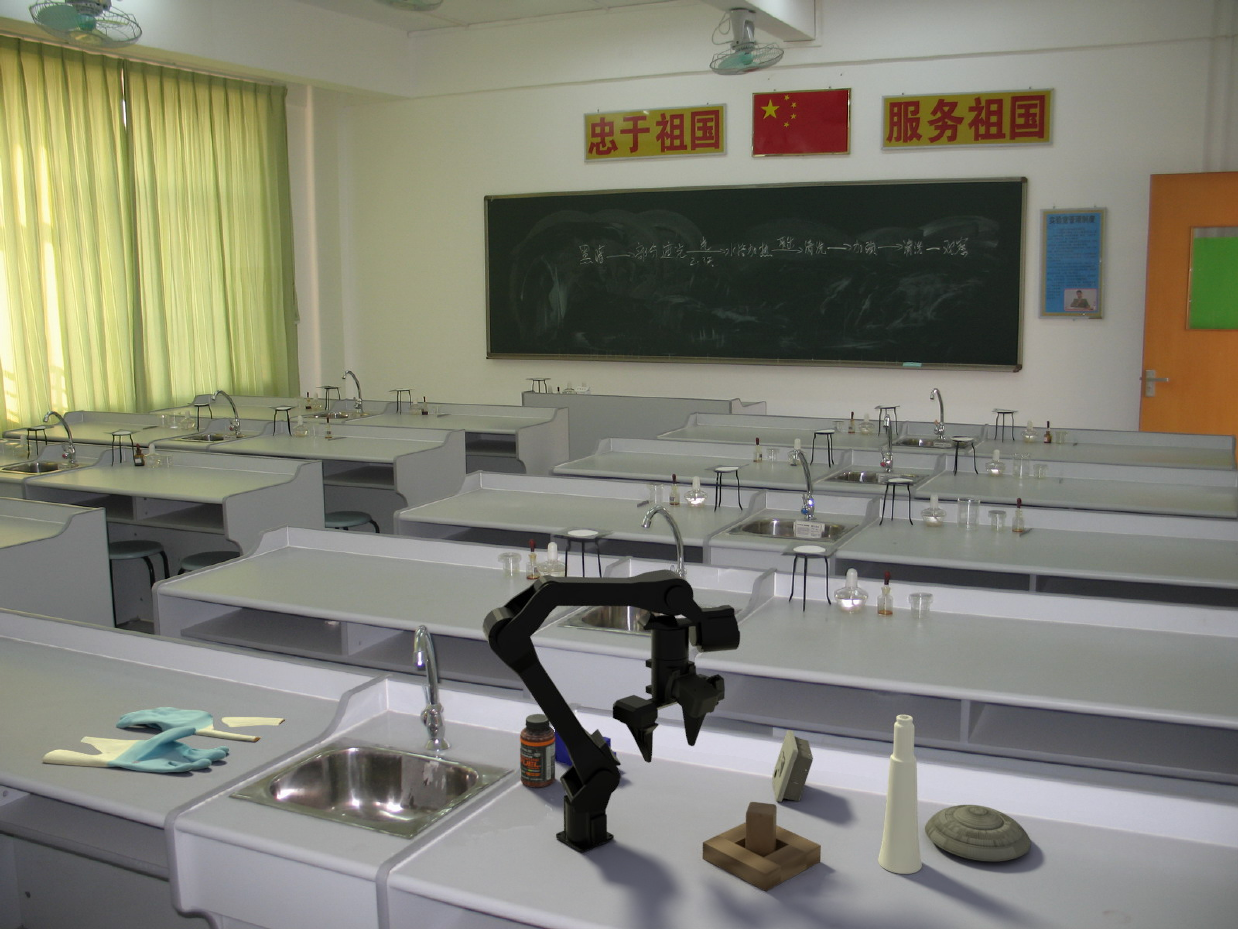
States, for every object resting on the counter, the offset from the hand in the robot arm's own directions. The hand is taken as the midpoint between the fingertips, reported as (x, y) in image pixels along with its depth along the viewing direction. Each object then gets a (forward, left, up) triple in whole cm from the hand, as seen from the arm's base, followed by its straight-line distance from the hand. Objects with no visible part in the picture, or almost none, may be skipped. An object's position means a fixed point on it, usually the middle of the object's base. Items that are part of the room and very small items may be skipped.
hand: (669, 753), depth 162 cm
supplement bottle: (-27, -5, -12) cm, 30 cm away
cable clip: (-28, +5, -12) cm, 31 cm away
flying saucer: (+34, +31, -12) cm, 48 cm away
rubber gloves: (-88, -46, -13) cm, 100 cm away
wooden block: (+16, +3, -12) cm, 20 cm away
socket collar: (+16, +3, -12) cm, 20 cm away
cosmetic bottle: (+30, +17, -12) cm, 37 cm away
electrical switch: (+4, +24, -12) cm, 27 cm away
